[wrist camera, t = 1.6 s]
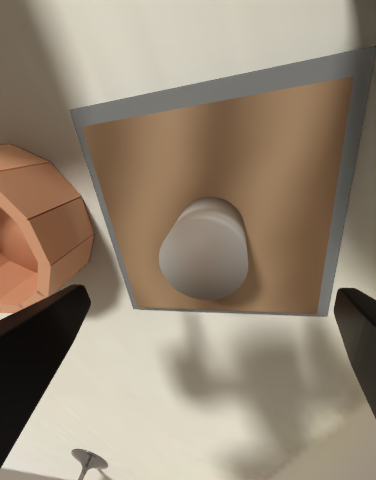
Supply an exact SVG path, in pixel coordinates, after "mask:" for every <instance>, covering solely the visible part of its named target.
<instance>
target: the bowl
mask: <svg viewBox="0 0 376 480" xmlns="http://www.w3.org/2000/svg"><path fill="white" fill-rule="evenodd" d="M93 239H94V231H93V228H92V225H91V222H90V220H89V217H88V214H87V211H86V208H85V205H84V203H83V200H82V197H80V194H79V193H78V192H77V191H76V190H75V189H74V188H73V187H72V186H71V185H70V183H69V182H68V181H67V180H66V179H65V178H64V177H63V176H62V175H61V173H60V172H59V171H58V170H57V169H56V168H55V167H54V166H53V165H52V163H49V161H47V160H45V159H42V158H40V157H38V156H36V155H34V154H31V153H29V152H27V151H25V150H23V149H21V148H18V147H16V146H14V145H12V144H4V145H0V313H16V312H18V311H20V310H22V309H24V308H26V307H28V306H30V305H32V304H34V303H36V302H38V301H40V300H42V299H44V298H46V297H48V296H50V295H52V294H54V293H55V292H56V291H57V290H58V289H59V288H60V287H62V286H63V285H64V284H65V283H66V282H67V281H68V280H69V279H70V278H71V277H73V276H74V275H75V274H76V273H77V272H78V271H79V270H80V269H81V268H83V267H84V266H85V265H86V264H87V263H88V262H89V259H90V254H91V249H92V244H93Z"/></svg>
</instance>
